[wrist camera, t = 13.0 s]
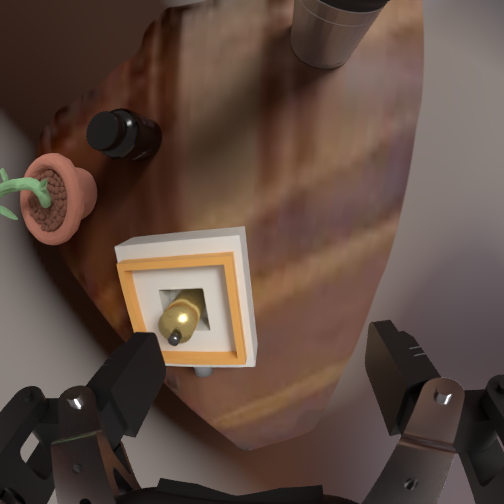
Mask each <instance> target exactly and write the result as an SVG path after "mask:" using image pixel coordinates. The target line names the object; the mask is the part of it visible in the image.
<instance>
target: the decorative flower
mask: <svg viewBox="0 0 504 504" xmlns="http://www.w3.org/2000/svg"><path fill="white" fill-rule="evenodd" d="M0 173H1V176H2V178H3V181H4V182H3V183H1V184H0V199H1V198H2V197H3V196H4V195H6V194H7V193H10V192H14V191H20V190H21V196H20V197H21V198H20V203H21V211H22V214H23V217H24V220H25V223H26V226H27V227H28V229H29V230H30V232H31V233H32V234H33V235H34V236H35V237H36V239H38V240H39V241H40V242H42V243H45V244H49V245H59V244H62V243H64V242H66V241H68V240H69V239H70V238H71V237H72V236H73V235H74V233H75V232H76V231H77V230H78V228H79V225H80V221H81V219H83V218H85V217H86V216H88V215H89V214H90V213H91V212H92V210H93V209H94V206H95V204H96V200H97V186H96V183H95V180H94V178H93V176H92V175H91V174H90V173H89V172H88V171H86V170H85V169H82V168H75V167H74V165H73V163H72V162H71V160H69V159H67V158H66V157H64V156H62V155H60V154H58V153H50V154H45V155H43V156H41V157H39V158H37V159H36V160H35V161H34V162H33V163H32V164H31V165H30V166H29V168H28V170H27V172H26V173H25V176H24V178H19V179H12V180H9V181H8V176H7V174H6V172H5V170H4V169H3V168H2V169H1V170H0ZM0 213H1V214H3V215H5V216H6V217H8V218H11V219H16V220H17V217H16V216H15V215H14V214H13V213H12V212H11V211H10V210H8V209H6V208H5V207H3V206H0Z"/></svg>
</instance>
